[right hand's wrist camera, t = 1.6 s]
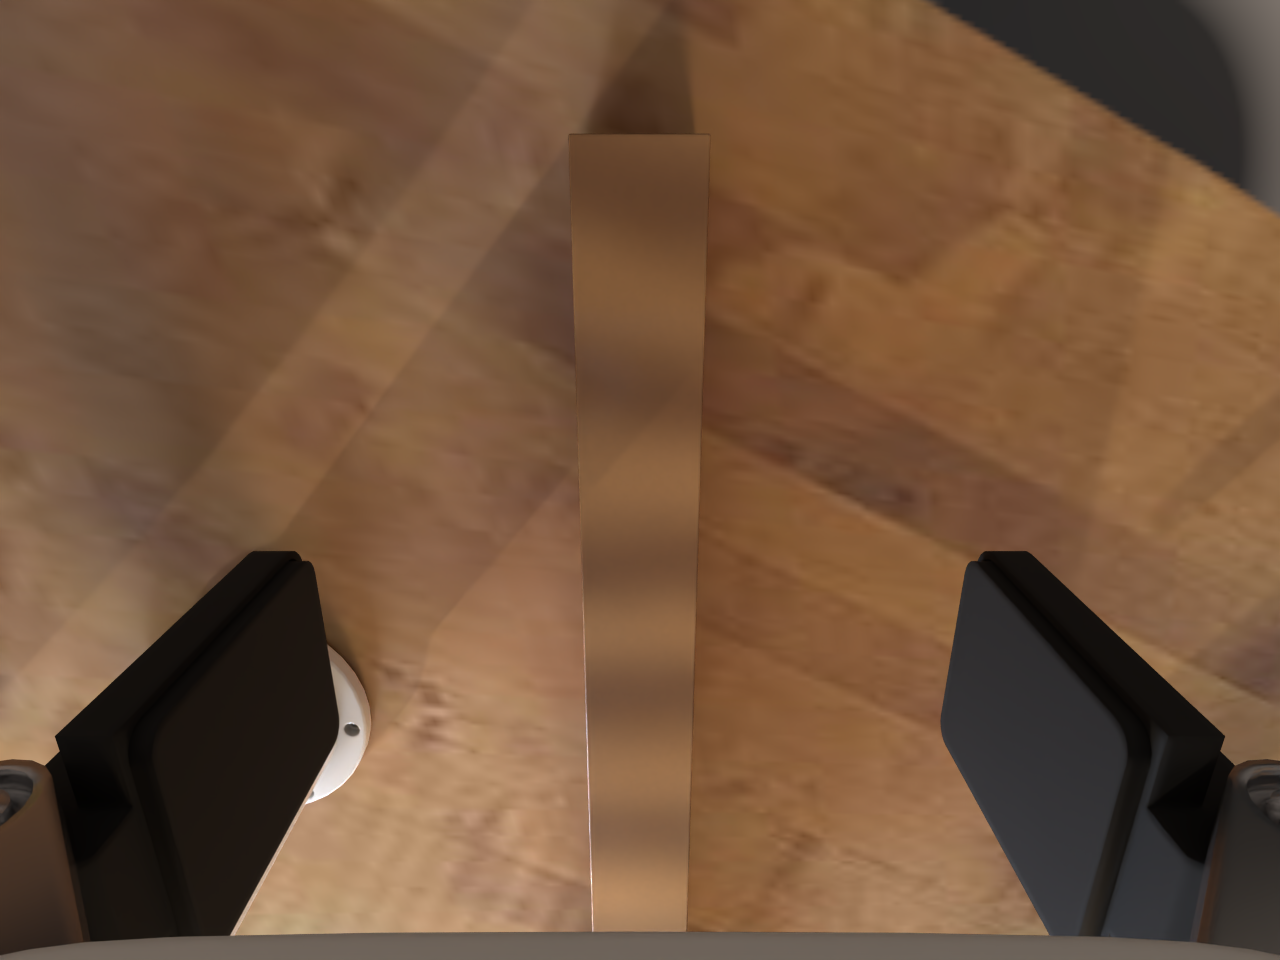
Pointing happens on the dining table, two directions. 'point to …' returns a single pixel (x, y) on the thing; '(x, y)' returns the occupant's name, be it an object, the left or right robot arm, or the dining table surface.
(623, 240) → the post
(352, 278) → the dining table surface
